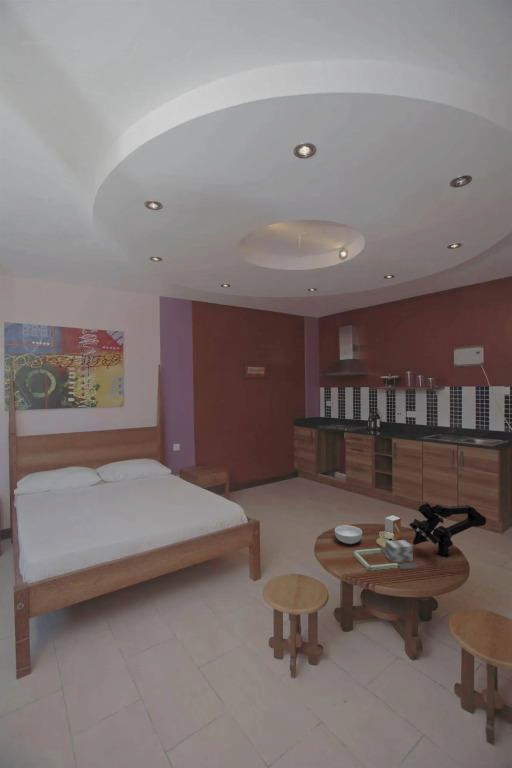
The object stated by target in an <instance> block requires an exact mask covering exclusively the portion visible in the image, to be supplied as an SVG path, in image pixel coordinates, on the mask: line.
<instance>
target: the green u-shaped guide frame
mask: <svg viewBox="0 0 512 768" xmlns="http://www.w3.org/2000/svg"><path fill="white" fill-rule="evenodd" d="M381 553H382V554H383V555H386V548H379V547H377V548H370V549H368V548H367V549H357V550H352V555H353V556H354V557H355V558H356V560H358V562H359V563H360V564H361V565H363V567H364V568H365V569H366V570H367V571H368V572H373V571H374V570H376V571H382V570H381V569H385V570H391V569H390V568H394V569H400V568H401V570H402V569H405V570H413V569H419V568H420V567H419V566H418V565H417V564H416V563H414V562H403V563H398V562H396V563H393V562H391V563H385V564H384V563H383V564H382V563H381V564H374V565H370V564H369V563H368V562H367V561H366V560H365V559H364V558H363V557H362V556H363V555H373V554H381ZM398 566H399V567H400V568H399V567H398ZM374 572H375V571H374Z"/></svg>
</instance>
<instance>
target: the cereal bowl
mask: <svg viewBox="0 0 512 768" xmlns="http://www.w3.org/2000/svg"><path fill="white" fill-rule="evenodd" d="M334 535H335V538H336V539H337V540H338V541H340V542H341V543H343V544H346V545H353V544H356V543H359V542H360V541H361V540H362V538H363V531H362V528H359V527H358V526H353V525H347V524H344V525H338V526H337V527H335V529H334Z"/></svg>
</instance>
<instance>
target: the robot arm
mask: <svg viewBox="0 0 512 768" xmlns="http://www.w3.org/2000/svg"><path fill="white" fill-rule="evenodd" d="M418 513H420V515H421V516H423V517H424V518H425V519H426V520H422V521H421V520H419V519H417V518H414V520H413V522H410V523H409V527H410V528H411V529H412V530H413V531H414V532H415V534H414V538H413V540H412V544H413V546H416V545H419V544H421V543H424V542H429V540H430V541H431V543H432V544H433V545H437V551H436V552H435V554H437V555H440V556H442V557H446V558H449V557H450V556H451V555H452V552H450V547H453V543H454V542H453V541H452V537H453V536H455V535H457V534H459V533H461V532H464V531H466V530H469V529H470V528H473V527H474V528H476V527H477V528H479V527H483V526H485V525H486V523H487V518H486V516H484V515H482V514H481V513H480V512H478V511H477V509H476V508H474V507H473V506H471V505H469V504H465V505H444V504H435V506H431V505H430V504H429V503H427V502H426V503H425V504H422V505H420V506H419V507H418ZM464 514H465V515H467V517H466V518H465V519H463V520H460V521H459V522H456V523H454V524H452V525H450V526H448V527H445V526H444V525H439V524H440V523H442V524H444V518H445V519H446V518H449V517H451V516H453V515H464ZM438 525H439V526H438ZM437 526H438V527H437Z"/></svg>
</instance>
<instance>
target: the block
mask: <svg viewBox="0 0 512 768" xmlns="http://www.w3.org/2000/svg"><path fill="white" fill-rule="evenodd" d="M385 549H386V554H385V557H386V558H387V559H388V560H389V561H390V562H391V563H393V562H396V563H407V562H406V561H408V562H414V553H413V552H414V545H412V544H411V543H409V542H408V541H407V540H406V539H401V540H400V539H397V540H394V541H392V540H387V541H385Z"/></svg>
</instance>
